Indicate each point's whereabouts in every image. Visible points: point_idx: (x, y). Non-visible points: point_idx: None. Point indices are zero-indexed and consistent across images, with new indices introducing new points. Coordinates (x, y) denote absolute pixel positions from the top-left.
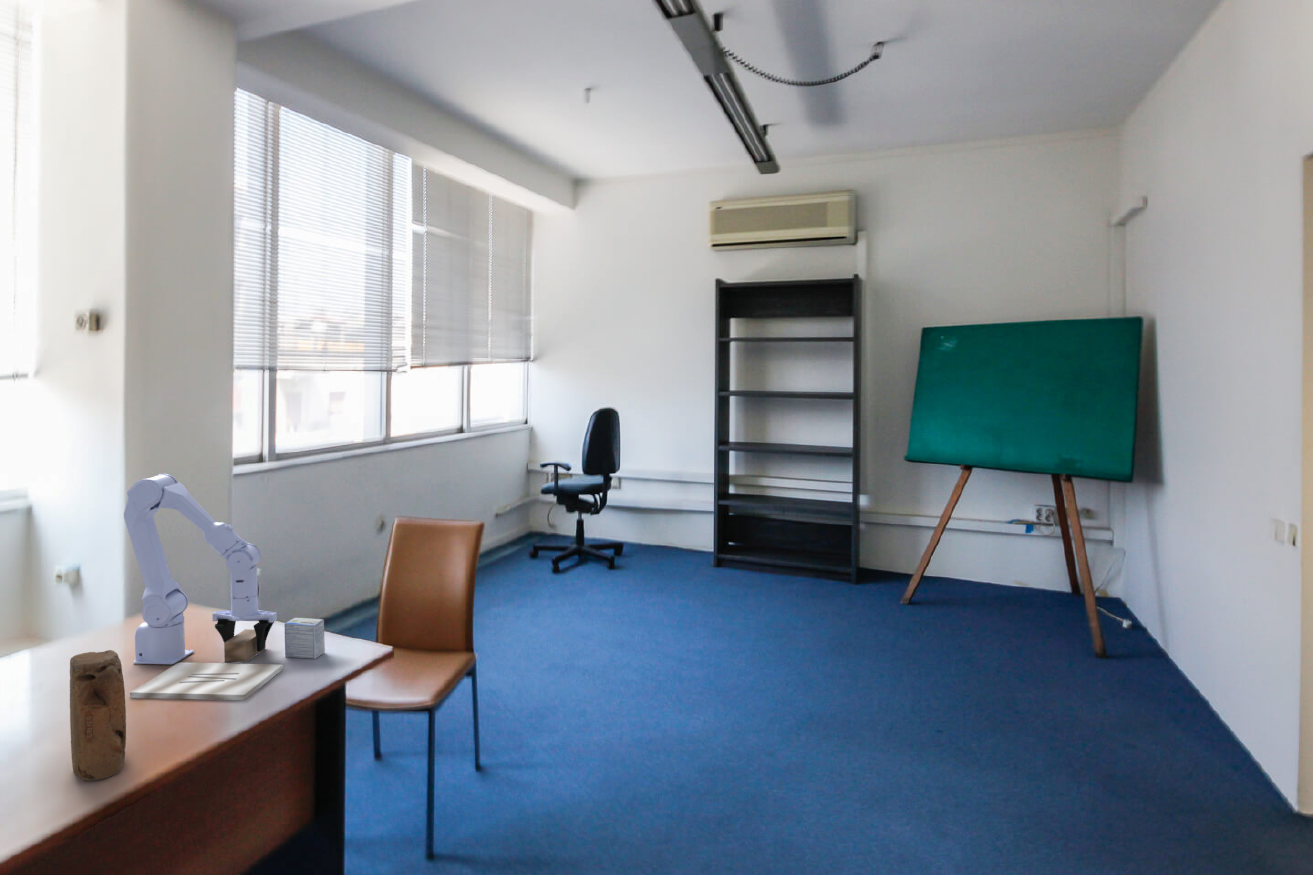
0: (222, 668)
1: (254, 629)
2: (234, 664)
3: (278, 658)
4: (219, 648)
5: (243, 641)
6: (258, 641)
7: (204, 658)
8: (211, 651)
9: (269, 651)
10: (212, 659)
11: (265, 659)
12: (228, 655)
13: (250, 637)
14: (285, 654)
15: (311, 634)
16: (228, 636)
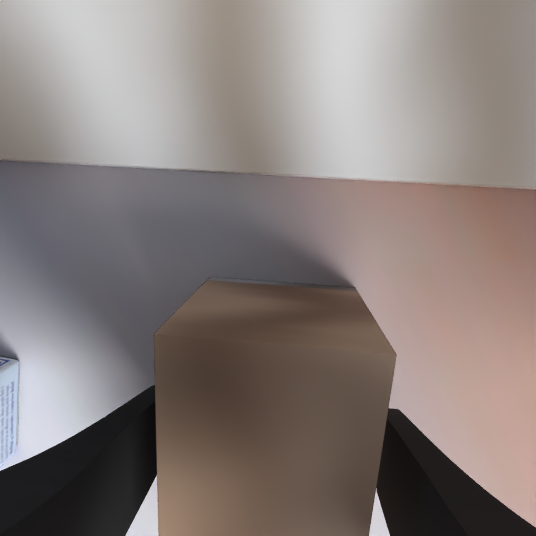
0: (267, 61)
1: (11, 523)
2: (214, 152)
3: (48, 340)
4: None
5: (200, 380)
6: (108, 425)
7: (525, 356)
8: (524, 466)
9: None
10: (461, 337)
11: (116, 327)
12: (332, 301)
13: (191, 483)
14: (1, 364)
15: None
16: (425, 515)
